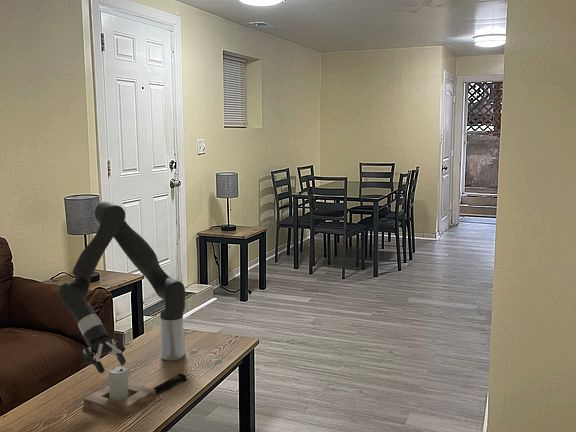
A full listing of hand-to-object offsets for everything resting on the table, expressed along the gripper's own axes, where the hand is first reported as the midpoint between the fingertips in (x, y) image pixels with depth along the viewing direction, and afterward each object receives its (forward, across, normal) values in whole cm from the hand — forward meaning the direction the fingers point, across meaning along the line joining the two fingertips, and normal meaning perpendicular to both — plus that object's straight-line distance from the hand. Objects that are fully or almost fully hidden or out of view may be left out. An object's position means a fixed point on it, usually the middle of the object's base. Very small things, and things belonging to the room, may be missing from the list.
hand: (113, 368), depth 201 cm
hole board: (+10, 0, +6) cm, 12 cm away
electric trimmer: (+14, +19, +3) cm, 24 cm away
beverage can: (+10, -1, +6) cm, 12 cm away
